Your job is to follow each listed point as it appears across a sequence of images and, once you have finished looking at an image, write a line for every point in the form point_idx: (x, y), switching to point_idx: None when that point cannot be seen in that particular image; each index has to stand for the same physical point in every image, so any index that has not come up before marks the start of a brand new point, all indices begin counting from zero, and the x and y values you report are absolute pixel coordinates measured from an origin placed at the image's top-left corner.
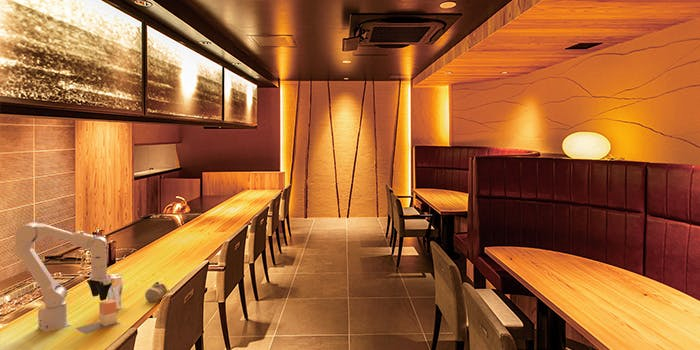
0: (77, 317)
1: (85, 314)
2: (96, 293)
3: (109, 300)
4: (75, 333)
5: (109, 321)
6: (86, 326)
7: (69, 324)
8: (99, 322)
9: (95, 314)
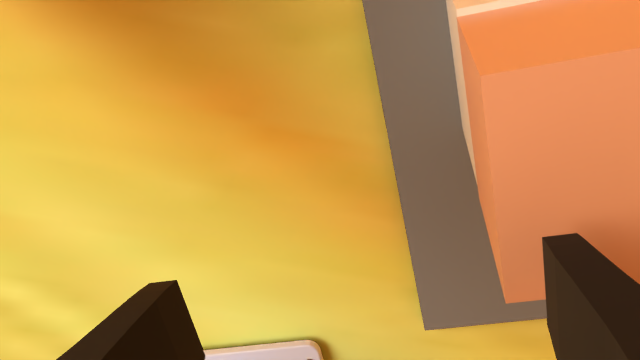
0: (90, 250)
1: (26, 177)
2: (170, 346)
3: (517, 132)
4: (543, 343)
5: None
6: (451, 252)
7: (301, 352)
8: (416, 126)
9: (70, 94)
